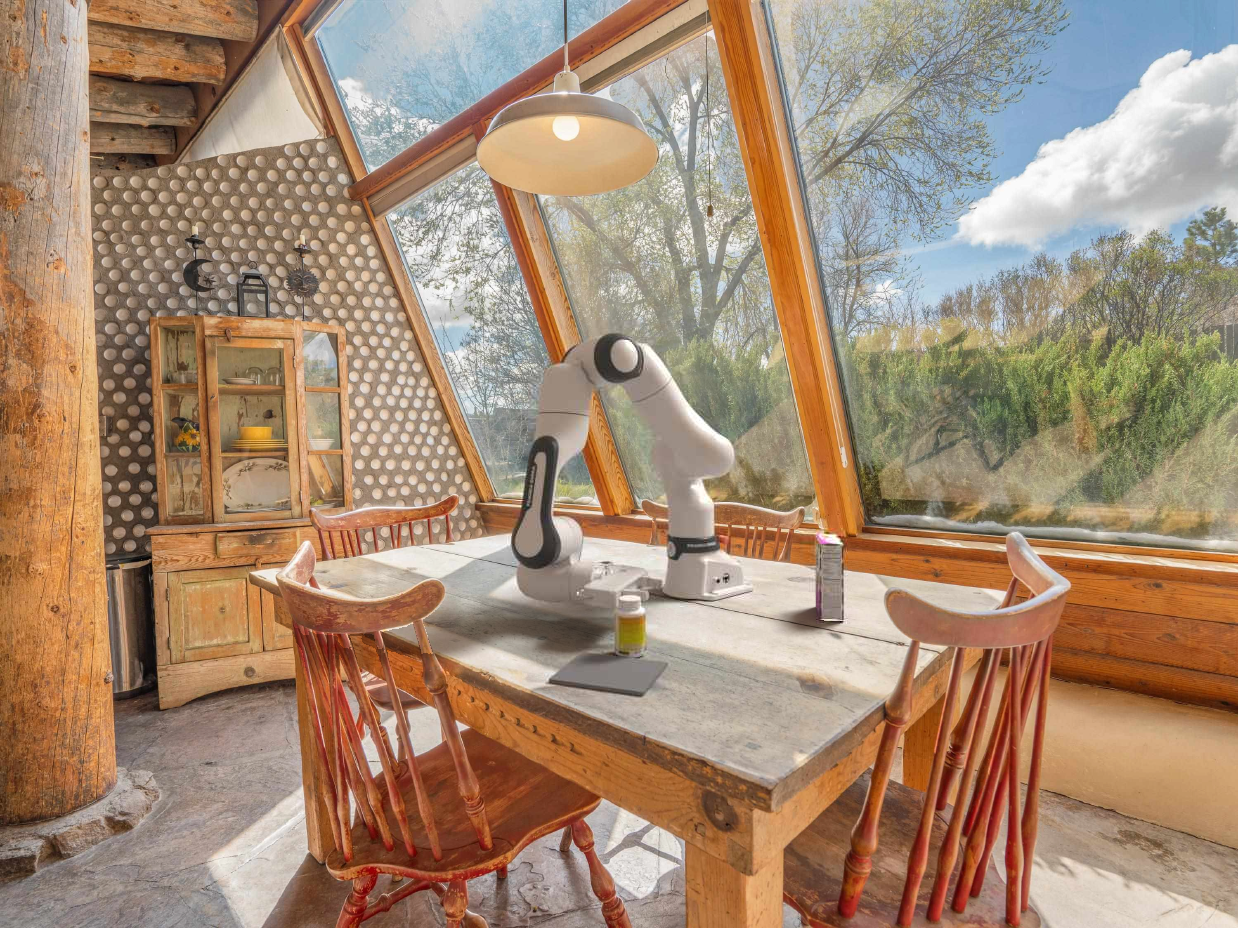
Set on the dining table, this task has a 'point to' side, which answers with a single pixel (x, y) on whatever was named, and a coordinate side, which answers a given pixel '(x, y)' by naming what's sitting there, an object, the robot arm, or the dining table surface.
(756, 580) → the dining table surface
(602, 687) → the mat
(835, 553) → the candy bar box
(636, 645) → the supplement bottle
